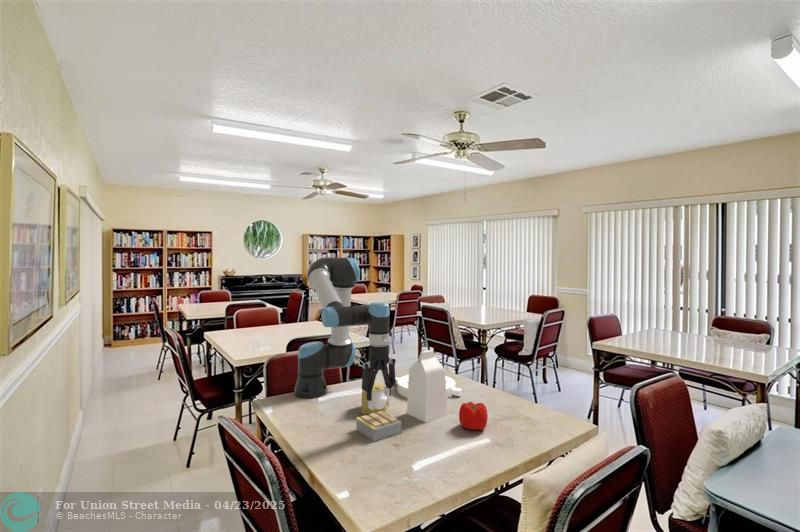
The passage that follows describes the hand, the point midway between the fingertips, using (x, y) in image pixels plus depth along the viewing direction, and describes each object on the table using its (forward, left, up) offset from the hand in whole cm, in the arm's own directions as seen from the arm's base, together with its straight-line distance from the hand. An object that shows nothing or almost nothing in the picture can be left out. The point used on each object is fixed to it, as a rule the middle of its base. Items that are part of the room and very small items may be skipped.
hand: (378, 406), depth 148 cm
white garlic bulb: (0, 0, -1) cm, 1 cm away
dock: (0, 0, -9) cm, 9 cm away
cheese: (-18, +10, -10) cm, 23 cm away
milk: (-2, +25, -9) cm, 27 cm away
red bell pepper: (+18, +31, -9) cm, 37 cm away
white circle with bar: (-25, +44, -10) cm, 52 cm away
